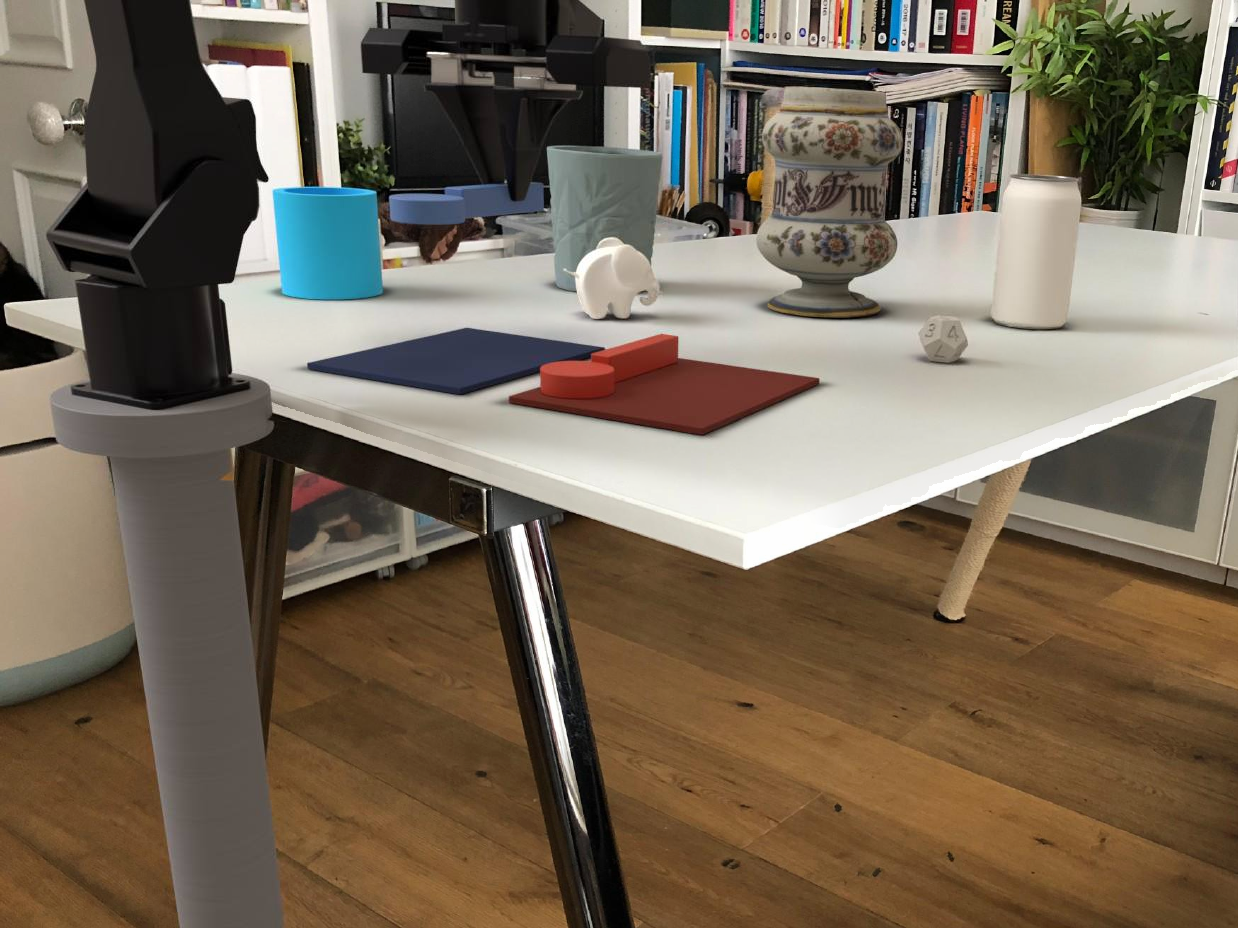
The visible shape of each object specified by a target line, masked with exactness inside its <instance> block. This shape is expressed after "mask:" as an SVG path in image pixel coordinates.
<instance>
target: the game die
mask: <svg viewBox="0 0 1238 928" xmlns="http://www.w3.org/2000/svg"><path fill="white" fill-rule="evenodd" d="M921 327H922V328H920V330H919V332H918V337H919V341H920V343H921V345H922V347H923V350H924V352H925V354H926V358H927V359H928V360H929V362H936V363H937V362H938V363H946V364H949V363H953V362H956V361H958V360H959V358H960V357H961V356H962V354H963V353H964V352H965V350H966V349H967V347H968V346H969V342H968V338H967V334H966V332H965V330H964V328H963V325H962V323H961V320H960V319H959V318H958V317H957V316H949V315H948V316H947V315H935V316H929V317H928V319H927V320H926V322H925V323H924V324H923V326H921Z"/></svg>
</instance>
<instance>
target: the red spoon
mask: <svg viewBox="0 0 1238 928" xmlns="http://www.w3.org/2000/svg"><path fill="white" fill-rule="evenodd" d="M678 358H679V336H678V335H673V334H666V333H659V334H655V335H652V336H648V337H645V338H642V339H638V340H634V341H631V342H627V343H624V344H620V345H617V346H613V347H610V348H607V349H606V348H605V350H603V351H599V352H596V353H592V354H591V357H590V361H589V360H578V361H560V362H553V363H548V364H545V365H543V366H541V368H540V372H539V381H540V382H539V383H540V386H539V387H541V392H542V393H544V394H546V395H548V396H552V397H557V398H564V399H594V398H601V397H605V396H609V395H611V394H613V393H614V383H616V382H619V381H622V380H625V379H628V378H632V377H635V376H638V375H641V374H644V373H647V372H650V371H653V370H656V369H659V368H662V367H665V366H668V365H671V364H674V363H677V362H678Z"/></svg>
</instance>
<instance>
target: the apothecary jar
mask: <svg viewBox="0 0 1238 928" xmlns="http://www.w3.org/2000/svg"><path fill="white" fill-rule="evenodd" d="M761 142H762V145H763V147H764V149H765V150H766V152H767V153H768V154H769V155H771V156H772V157H773V160H774V183H773V195H772V206H771V207H772V208H771V215H769V216H768V217H767V218H766V219H765V220H764V221H763V222H762V224H761V225H760V226H759V228H758V230H757V232H756V239H755V242H756V246H757V249H758V251H759V253H760V254H761V255H762V257H763V258H764V259H765V261H767V262H768V263H769V264H771V265H772V266H774V267H775V268H777V269H779V270H781V271H783V272H785V273H787V274H790V275H792V276H795V277H797V278H798V279H799V280H800V281H801V287H798V288H791V289H787V290H786V291H784V292H783V294H780V295H777V296H774V297H771V299H770V300H768V302H767V308H768V309H770V310H772V311H774V312H778V313H782V314H788V315H793V316H794V315H795V316H802V317H814V318H835V319H836V318H843V319H845V318H860V317H868V316H872V315H876V314H878V313H880V311H881V309H882V308H881V305H880V304H879V303H878V302H877V301H875V300H873V299H872V298H870V297H867V296H865V295H864V294H862V293H859V292H856V291H852V290H850V289H849V284H850V283H851V282H852V281H853V280H854V279H856V278H860V277H865V276H867V275H870V274H873V273H876V272H877V271H880V270H881V269H883V268H884V267H886V266H887V265H888V264H889V263H890V262H891V261H892V260H893V259H894V257H895V256H896V253H897V249H898V239H897V235H896V233H895V231H894V229H893V228H892V227H891V225H890V224H889V223H888V222H887V221H886V220H885V219H886V216H885V215H886V187H887V174H888V165H889V164H890V163H891V162H893V161H894V160H895V159H897V157H898V156H899V155H900V153H901V152H902V149H903V146H904V137H903V134H902V131H901V129H900V128H899V126H898V125H897V124H896V123H895V122H894V121H893V120H892V119H891V117H889V109H888V107H887V95H886V92H883V91H875V90H873V91H872V90H859V89H847V88H831V87H830V88H829V87H815V86H814V87H813V86H797V85H796V86H792V85H791V86H786V87H785V89H784V92H783V101H782V103H781V104H780V109H779V111H778V112H777V113H775V114H774V115H773V116H772V117H770V118H769V120H767V122H766V123H765V125H764V127H763V130H762V134H761Z"/></svg>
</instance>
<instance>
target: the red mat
mask: <svg viewBox="0 0 1238 928" xmlns="http://www.w3.org/2000/svg"><path fill="white" fill-rule="evenodd" d="M819 385H820V377H815V376H814V377H813V376H807V375H801V374H793V373H792V374H791V373H786V372H779V371H774V370H773V371H772V370H766V369H758V368H752V367H745V366H737V365H731V364H730V365H729V364H724V363H716V362H710V361H703V360H696V359H688V358H683V357H678V362H677V363H674V364H671V365H668V366H665V367H662V368H659V369H656V370H653V371H650V372H647V373H644V374H641V375H638V376H635V377H632V378H628V379H625V380H622V381H619V382H616V383H614V393H613V394H611V395H609V396H605V397H601V398H594V399H564V398H557V397H552V396H548V395H546V394H544V393H542V392H541V387H540V386H538V387H534V388H531V389H529V390H528V389H527V390H525V391H521V392H519V393H515V394H512V395H508V403H509V404H514V405H521V406H527V407H533V408H538V409H539V408H540V409H544V410H551V411H556V412H557V411H558V412H561V413H562V412H563V413H568V414H573V415H574V414H575V415H582V416H587V417H592V418H597V419H603V420H604V419H605V420H610V421H618V422H623V423H628V424H634V425H641V426H646V427H651V428H658V429H665V430H671V431H675V432H676V431H677V432H683V433H686V434H687V433H689V434H694V435H700V436H704V435H706V434H708V433H710V432H713V431H715V430H717V429H720V428H722V427H724V426H726V425H729V424H731V423H733V422H735V421H737V420H740V419H743V418H745V417H747V416H749V415H752V414H754V413H756V412H758V411H761V410H763V409H765V408H768V407H770V406H772V405H774V404H776V403H779V402H781V401H784V400H785V399H788V398H790V397H792V396H794V395H797V394H800V393H801V392H805V391H806V390H808V389H811V388H813V387H815V386H819Z"/></svg>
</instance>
